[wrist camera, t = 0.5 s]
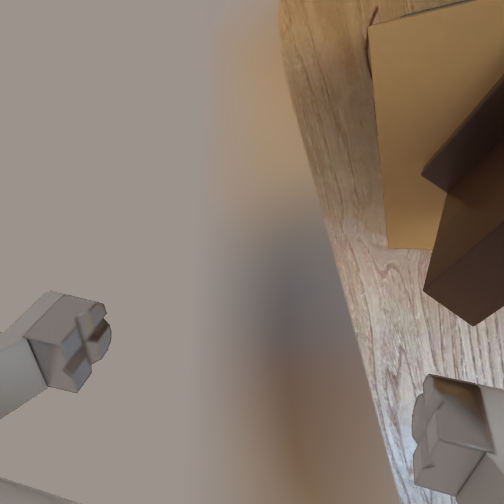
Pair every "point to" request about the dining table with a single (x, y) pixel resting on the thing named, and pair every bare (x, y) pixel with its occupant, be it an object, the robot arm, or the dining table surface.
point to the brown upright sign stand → (471, 214)
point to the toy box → (428, 102)
